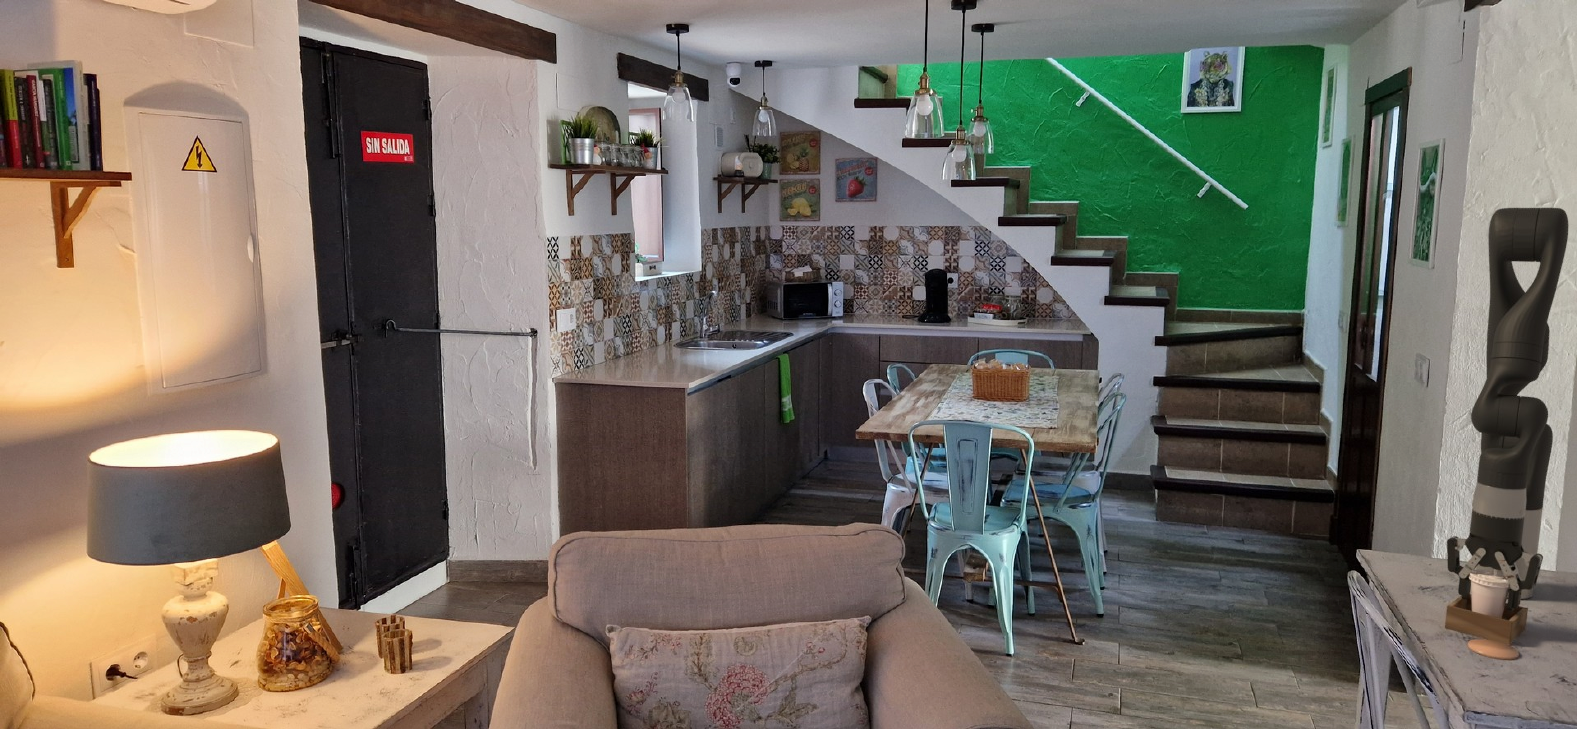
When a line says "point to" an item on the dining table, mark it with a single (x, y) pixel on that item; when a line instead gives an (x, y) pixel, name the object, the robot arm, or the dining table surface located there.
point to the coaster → (1493, 649)
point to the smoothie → (1489, 592)
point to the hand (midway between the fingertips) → (1487, 603)
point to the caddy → (1486, 621)
